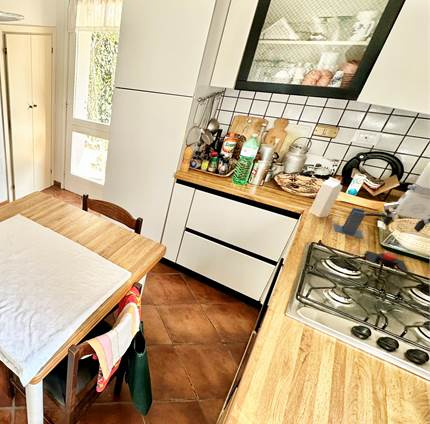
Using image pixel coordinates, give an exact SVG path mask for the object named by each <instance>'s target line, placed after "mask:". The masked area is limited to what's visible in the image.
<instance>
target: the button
mask: <svg viewBox="0 0 430 424" xmlns="http://www.w3.org/2000/svg"><path fill="white" fill-rule="evenodd" d="M383 253H384V255H383V257H384V258H385V259H387V260H391V261H394V260H395V258H397V256H396V255H395V254H393V253H391V252H383Z"/></svg>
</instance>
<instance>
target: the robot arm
mask: <svg viewBox="0 0 430 424" xmlns="http://www.w3.org/2000/svg"><path fill="white" fill-rule="evenodd" d="M390 208H392V209H390ZM383 211H384V213H386V214H387V215H386V217H384V218H383V220H382V221H383V224H384V225H385V226H389V225H390V224H391V223H392V221H393V219H394V217H395V216H397V215H398V216H401V217H407V218H410V219H411V218H412V219H417V220H418V222H417V223H416V224H415V226H414V227H413V230H415V231H416V232H417V233H420V232H421V230H423V229H424V228H425V227H426V226H427V225H429V224H430V161H428V163H427V164H426V165H425V167H424V169H423V170H422V172H421V173H420V175H419V177H418V178H417V179H416V181H415V182H414V183H413V184H409V185H408V186H407V191H406V192H404V194H402V195H401V197H400V198H399V199H398V200H397V202H390V203H384V204H383Z"/></svg>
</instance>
